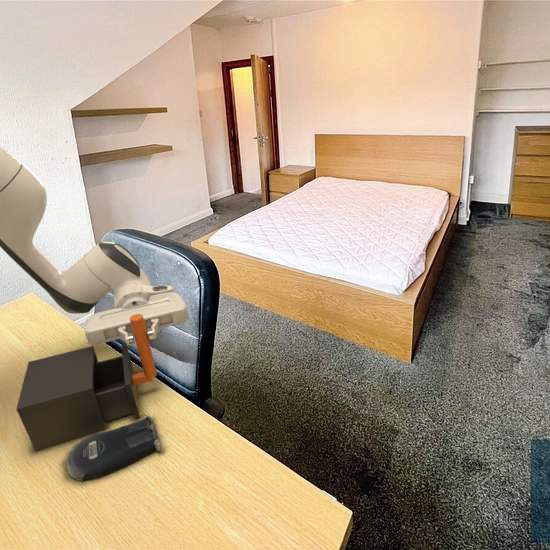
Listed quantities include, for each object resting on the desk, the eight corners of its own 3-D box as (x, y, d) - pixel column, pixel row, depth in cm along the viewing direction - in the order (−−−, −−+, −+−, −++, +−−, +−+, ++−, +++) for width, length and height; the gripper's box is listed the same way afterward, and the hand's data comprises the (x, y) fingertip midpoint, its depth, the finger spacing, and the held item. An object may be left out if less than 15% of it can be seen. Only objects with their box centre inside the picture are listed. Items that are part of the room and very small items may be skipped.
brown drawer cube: (106, 386, 89) (93, 345, 84) (107, 433, 77) (92, 388, 72) (45, 404, 85) (28, 361, 80) (37, 455, 73) (16, 409, 69)
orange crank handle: (156, 368, 91) (139, 299, 84) (164, 409, 80) (146, 333, 72) (79, 389, 87) (54, 319, 79) (76, 436, 75) (46, 359, 67)
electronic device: (151, 425, 80) (66, 449, 73) (151, 405, 77) (62, 428, 71) (162, 466, 73) (69, 496, 66) (162, 445, 70) (64, 475, 63)
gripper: (81, 305, 86) (78, 339, 74) (178, 283, 92) (190, 312, 80) (89, 330, 89) (88, 367, 77) (183, 307, 95) (195, 338, 83)
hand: (141, 339), depth 79 cm, fingers open, 3 cm apart
